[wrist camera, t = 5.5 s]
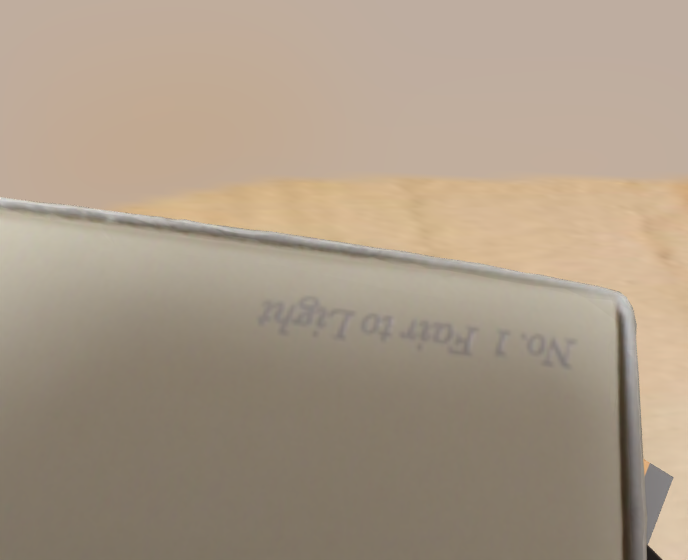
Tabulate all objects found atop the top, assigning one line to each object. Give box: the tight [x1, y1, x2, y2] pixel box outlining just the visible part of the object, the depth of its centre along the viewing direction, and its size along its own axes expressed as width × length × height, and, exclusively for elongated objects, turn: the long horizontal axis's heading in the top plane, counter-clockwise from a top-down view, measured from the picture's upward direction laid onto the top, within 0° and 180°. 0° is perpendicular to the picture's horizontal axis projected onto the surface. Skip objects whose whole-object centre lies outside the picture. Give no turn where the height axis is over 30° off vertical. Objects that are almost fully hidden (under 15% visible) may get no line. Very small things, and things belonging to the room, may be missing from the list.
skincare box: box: [0, 197, 647, 560], centre depth 9 cm, size 6×4×12 cm
